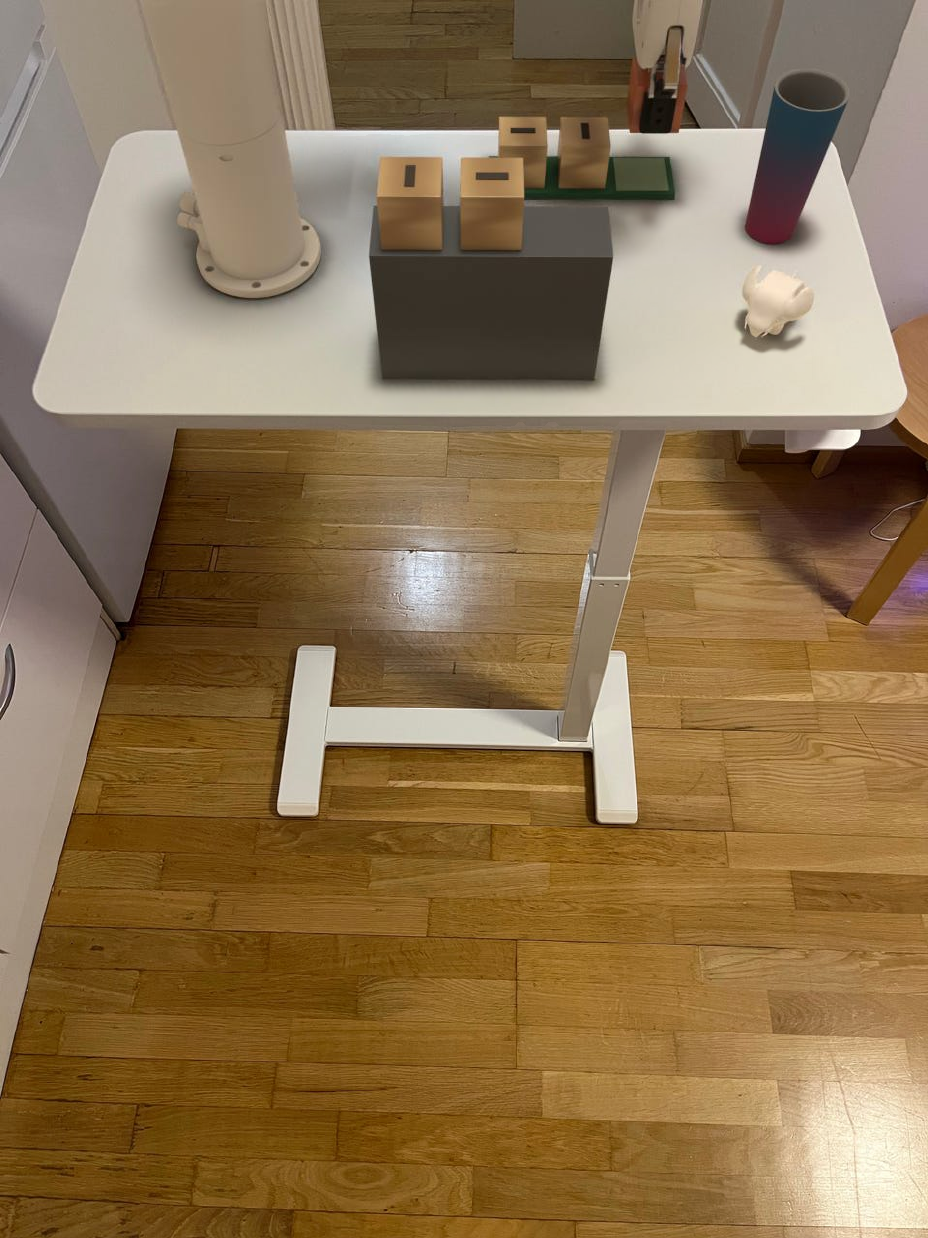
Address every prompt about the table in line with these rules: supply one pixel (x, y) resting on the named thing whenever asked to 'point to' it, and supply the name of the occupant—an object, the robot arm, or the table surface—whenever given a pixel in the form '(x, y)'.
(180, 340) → the table surface
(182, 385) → the table surface
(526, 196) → the green tile rack
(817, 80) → the cup
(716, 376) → the table surface
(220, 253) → the robot arm
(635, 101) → the slotted orange cube
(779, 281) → the elephant figurine
